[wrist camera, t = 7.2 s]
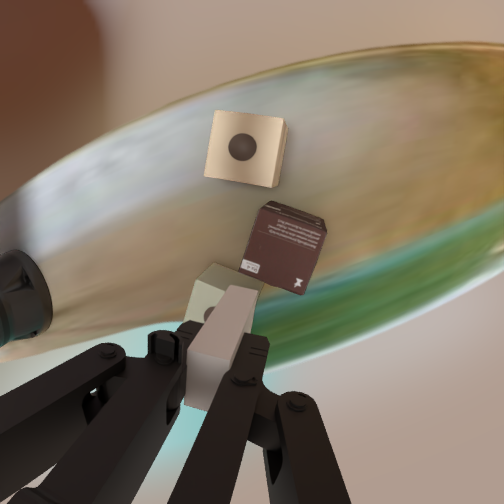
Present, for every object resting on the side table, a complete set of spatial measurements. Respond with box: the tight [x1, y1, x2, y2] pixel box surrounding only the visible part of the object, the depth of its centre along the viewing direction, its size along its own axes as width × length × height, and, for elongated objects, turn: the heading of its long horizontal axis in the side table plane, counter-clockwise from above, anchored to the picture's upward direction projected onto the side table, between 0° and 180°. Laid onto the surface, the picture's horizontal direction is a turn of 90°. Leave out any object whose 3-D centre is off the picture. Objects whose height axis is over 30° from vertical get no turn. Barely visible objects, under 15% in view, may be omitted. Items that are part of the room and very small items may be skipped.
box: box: [239, 201, 327, 295], centre depth 29 cm, size 6×6×7 cm
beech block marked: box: [204, 110, 288, 188], centre depth 28 cm, size 6×6×6 cm
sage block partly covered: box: [183, 262, 264, 323], centre depth 33 cm, size 6×6×6 cm
